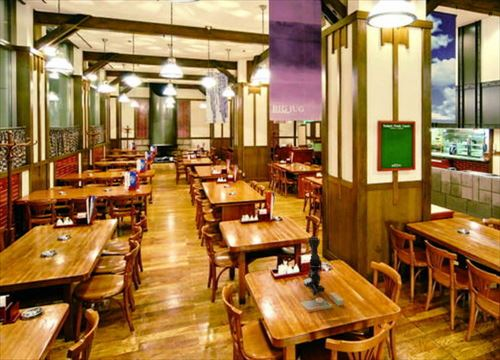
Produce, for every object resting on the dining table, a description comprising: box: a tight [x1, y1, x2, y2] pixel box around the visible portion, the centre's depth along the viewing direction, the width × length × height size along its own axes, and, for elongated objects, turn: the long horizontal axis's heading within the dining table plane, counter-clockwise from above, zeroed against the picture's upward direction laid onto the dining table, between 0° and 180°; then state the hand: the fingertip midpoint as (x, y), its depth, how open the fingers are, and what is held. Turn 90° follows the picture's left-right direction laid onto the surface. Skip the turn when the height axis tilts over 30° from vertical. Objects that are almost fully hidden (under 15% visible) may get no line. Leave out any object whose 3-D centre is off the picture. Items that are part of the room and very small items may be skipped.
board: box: [299, 298, 333, 313], centre depth 243 cm, size 13×18×3 cm
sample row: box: [329, 291, 344, 307], centre depth 248 cm, size 11×5×5 cm, turn 18°
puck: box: [315, 296, 324, 304], centre depth 246 cm, size 5×5×2 cm
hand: (314, 295), depth 254 cm, fingers closed
